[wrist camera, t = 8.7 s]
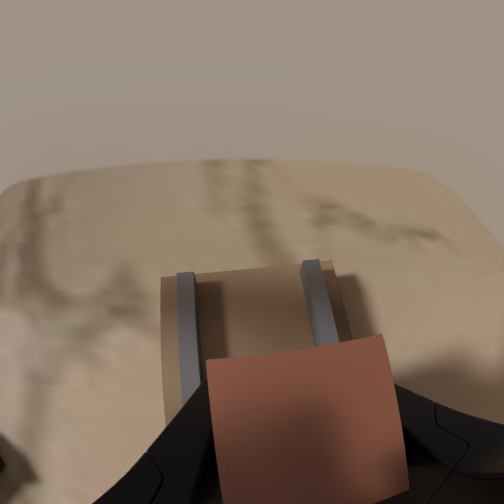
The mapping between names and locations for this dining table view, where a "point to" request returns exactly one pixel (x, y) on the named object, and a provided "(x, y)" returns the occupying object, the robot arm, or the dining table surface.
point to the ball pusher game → (244, 319)
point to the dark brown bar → (1, 465)
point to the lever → (308, 425)
